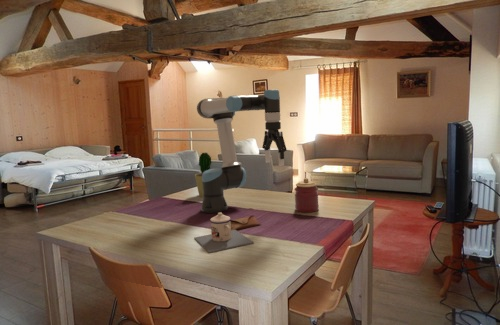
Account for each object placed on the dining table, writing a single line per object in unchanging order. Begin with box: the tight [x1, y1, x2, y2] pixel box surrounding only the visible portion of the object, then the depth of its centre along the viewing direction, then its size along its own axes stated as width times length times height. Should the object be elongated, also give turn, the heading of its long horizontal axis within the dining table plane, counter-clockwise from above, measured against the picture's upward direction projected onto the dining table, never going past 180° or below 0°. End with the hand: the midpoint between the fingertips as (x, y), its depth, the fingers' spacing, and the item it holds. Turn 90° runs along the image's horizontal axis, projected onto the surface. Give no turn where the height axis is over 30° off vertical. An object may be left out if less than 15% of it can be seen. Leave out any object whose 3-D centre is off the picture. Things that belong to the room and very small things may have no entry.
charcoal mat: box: [194, 230, 255, 254], centre depth 164 cm, size 20×20×1 cm
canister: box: [293, 177, 320, 213], centre depth 206 cm, size 13×13×18 cm
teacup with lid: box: [209, 212, 232, 242], centre depth 164 cm, size 12×9×12 cm
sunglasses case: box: [230, 215, 262, 231], centre depth 184 cm, size 18×7×7 cm
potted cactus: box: [194, 152, 212, 198], centre depth 253 cm, size 15×15×30 cm
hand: (274, 164), depth 188 cm, fingers open, 13 cm apart
